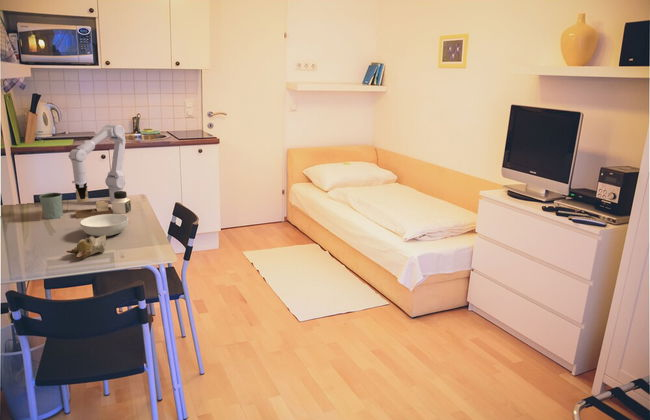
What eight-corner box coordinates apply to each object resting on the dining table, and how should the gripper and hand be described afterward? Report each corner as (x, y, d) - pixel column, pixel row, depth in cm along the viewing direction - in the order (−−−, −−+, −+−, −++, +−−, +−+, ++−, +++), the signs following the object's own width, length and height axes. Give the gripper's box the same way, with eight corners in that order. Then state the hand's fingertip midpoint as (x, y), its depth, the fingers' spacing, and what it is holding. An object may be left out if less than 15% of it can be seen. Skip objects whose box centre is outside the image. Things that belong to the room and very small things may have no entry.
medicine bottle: (126, 215, 269) (124, 193, 265) (112, 215, 269) (110, 193, 266) (131, 211, 276) (129, 189, 272) (118, 211, 276) (116, 189, 272)
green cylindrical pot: (68, 215, 268) (65, 193, 264) (57, 221, 258) (53, 198, 254) (50, 214, 268) (47, 192, 265) (38, 220, 259) (34, 197, 255)
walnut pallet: (75, 215, 268) (74, 209, 267) (111, 211, 275) (110, 206, 274) (76, 220, 259) (75, 215, 258) (112, 216, 266) (112, 211, 266)
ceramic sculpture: (109, 234, 214) (72, 244, 204) (113, 253, 216) (76, 264, 207) (99, 228, 221) (63, 238, 211) (103, 247, 224) (67, 257, 214)
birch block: (77, 200, 272) (75, 189, 270) (88, 199, 274) (87, 188, 272) (77, 202, 268) (75, 191, 266) (88, 201, 271) (87, 190, 269)
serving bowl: (138, 229, 248) (137, 215, 246) (110, 243, 229) (108, 228, 227) (102, 225, 253) (100, 211, 251) (71, 238, 234) (69, 224, 232)
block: (97, 212, 269) (95, 201, 267) (108, 211, 271) (107, 200, 270) (97, 214, 266) (96, 203, 264) (109, 213, 268) (107, 202, 266)
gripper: (70, 170, 271) (73, 195, 275) (71, 176, 259) (74, 202, 263) (85, 169, 274) (88, 194, 278) (86, 174, 262) (89, 200, 266)
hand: (82, 197), depth 271 cm, fingers closed on birch block, 4 cm apart
